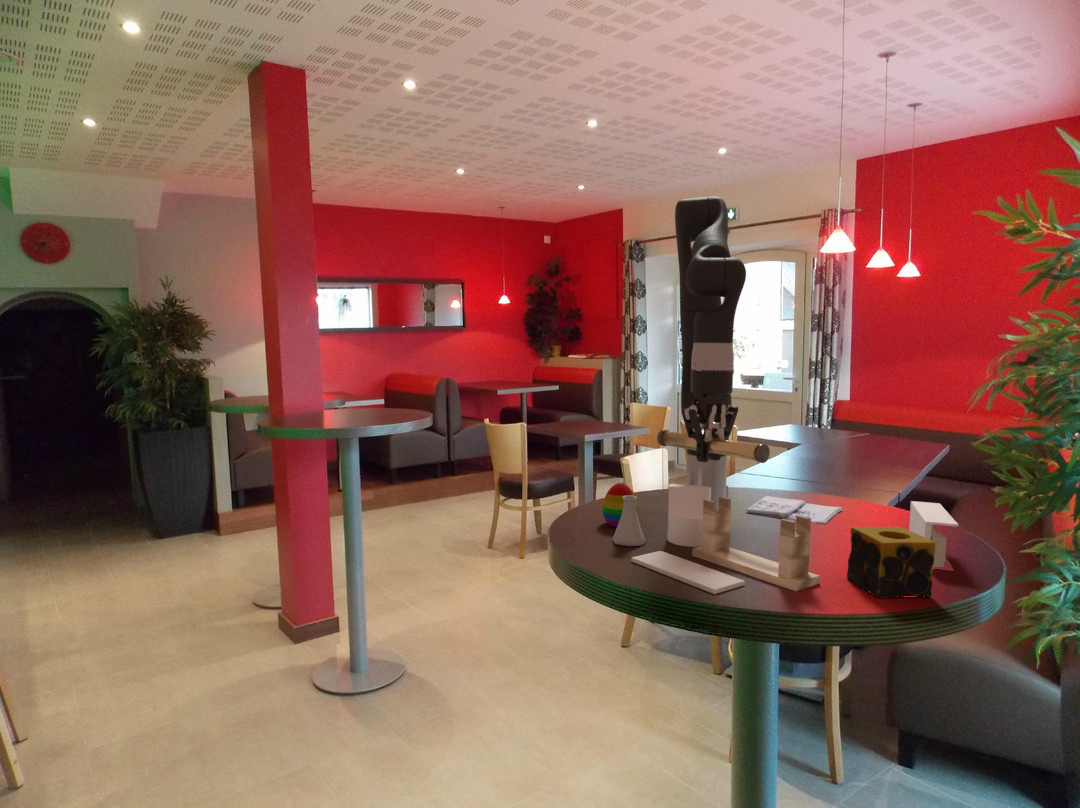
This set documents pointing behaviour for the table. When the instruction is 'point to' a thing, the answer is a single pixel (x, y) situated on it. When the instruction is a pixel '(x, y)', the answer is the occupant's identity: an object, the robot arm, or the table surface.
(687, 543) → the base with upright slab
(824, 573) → the table surface
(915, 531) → the white angled piece
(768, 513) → the open book
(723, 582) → the grey mat
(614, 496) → the decorative egg
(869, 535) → the yellow cube with hole
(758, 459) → the brass rail
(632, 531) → the flask
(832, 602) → the table surface
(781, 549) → the rail stand
